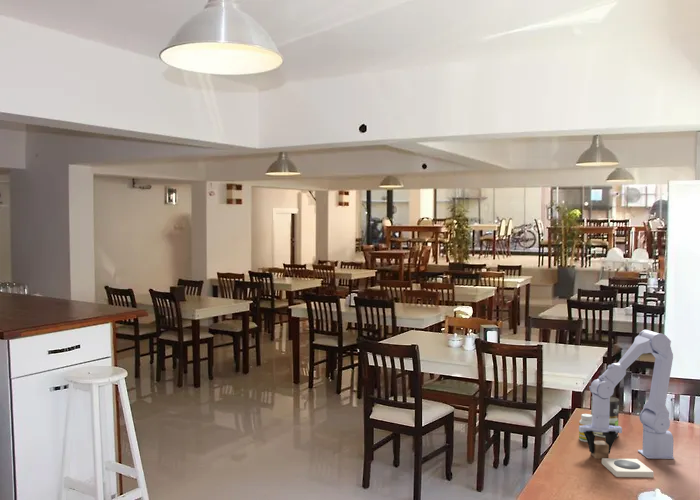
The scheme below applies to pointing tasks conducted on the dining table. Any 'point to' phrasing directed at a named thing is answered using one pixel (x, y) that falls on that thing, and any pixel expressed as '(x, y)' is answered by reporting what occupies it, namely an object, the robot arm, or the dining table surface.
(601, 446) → the walnut block
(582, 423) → the supplement bottle
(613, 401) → the coffee can
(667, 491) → the dining table surface
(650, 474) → the base board
